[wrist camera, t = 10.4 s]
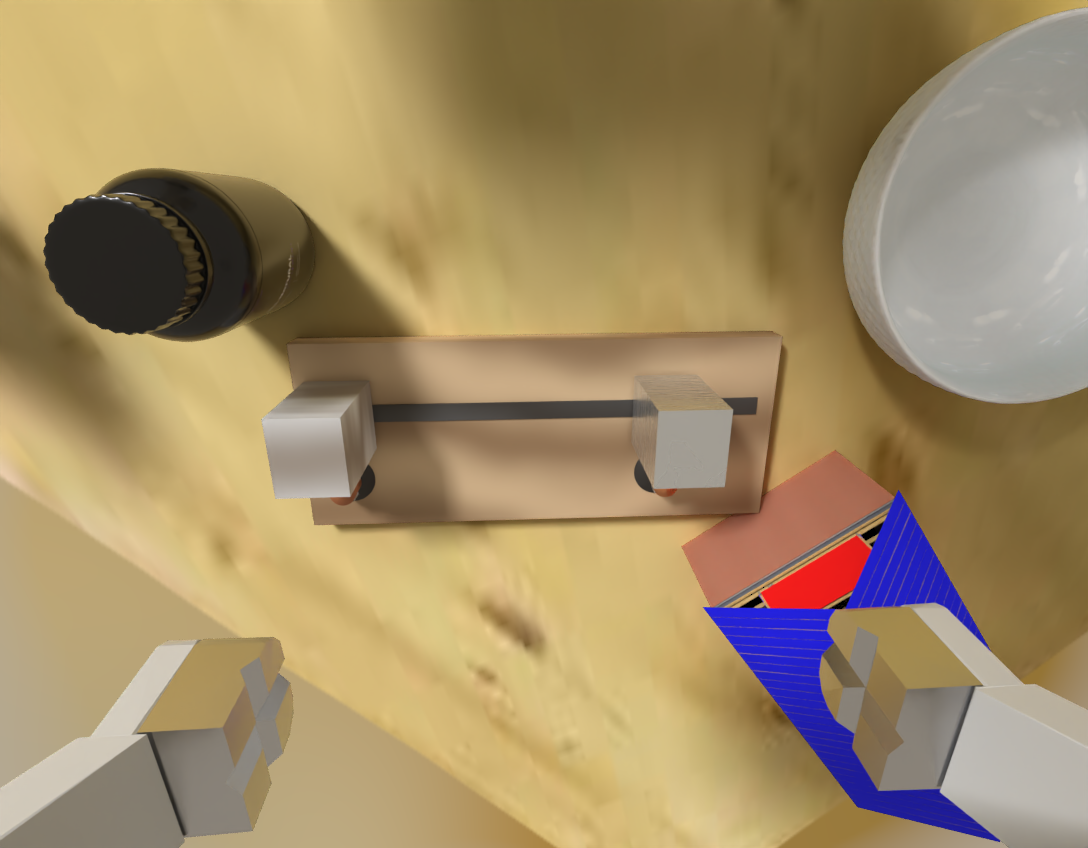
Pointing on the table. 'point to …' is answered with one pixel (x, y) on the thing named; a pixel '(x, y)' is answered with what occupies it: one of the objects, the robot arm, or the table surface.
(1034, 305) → the cereal bowl
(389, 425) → the board
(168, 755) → the robot arm
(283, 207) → the supplement bottle
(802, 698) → the house
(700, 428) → the block
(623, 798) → the table surface
